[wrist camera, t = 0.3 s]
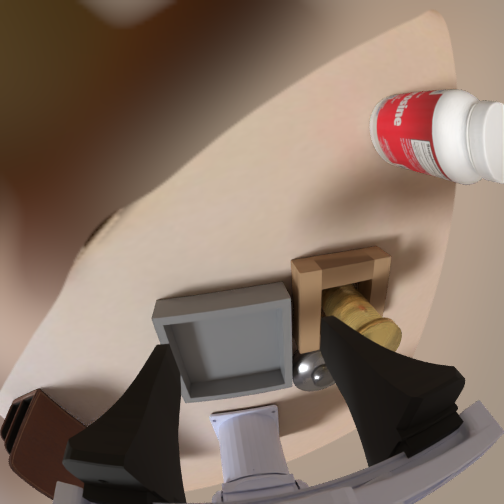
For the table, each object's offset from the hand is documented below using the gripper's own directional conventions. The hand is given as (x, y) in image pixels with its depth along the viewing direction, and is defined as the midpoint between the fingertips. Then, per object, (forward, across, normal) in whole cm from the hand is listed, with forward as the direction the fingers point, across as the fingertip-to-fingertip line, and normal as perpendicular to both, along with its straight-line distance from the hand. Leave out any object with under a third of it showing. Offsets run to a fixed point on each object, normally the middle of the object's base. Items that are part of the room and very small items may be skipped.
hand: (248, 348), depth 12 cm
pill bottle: (+10, -15, -9) cm, 20 cm away
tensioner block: (+10, -9, +4) cm, 14 cm away
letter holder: (+10, +28, +24) cm, 39 cm away
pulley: (+10, -7, +12) cm, 17 cm away
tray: (+10, +1, +8) cm, 12 cm away
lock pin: (+10, -9, +4) cm, 14 cm away
